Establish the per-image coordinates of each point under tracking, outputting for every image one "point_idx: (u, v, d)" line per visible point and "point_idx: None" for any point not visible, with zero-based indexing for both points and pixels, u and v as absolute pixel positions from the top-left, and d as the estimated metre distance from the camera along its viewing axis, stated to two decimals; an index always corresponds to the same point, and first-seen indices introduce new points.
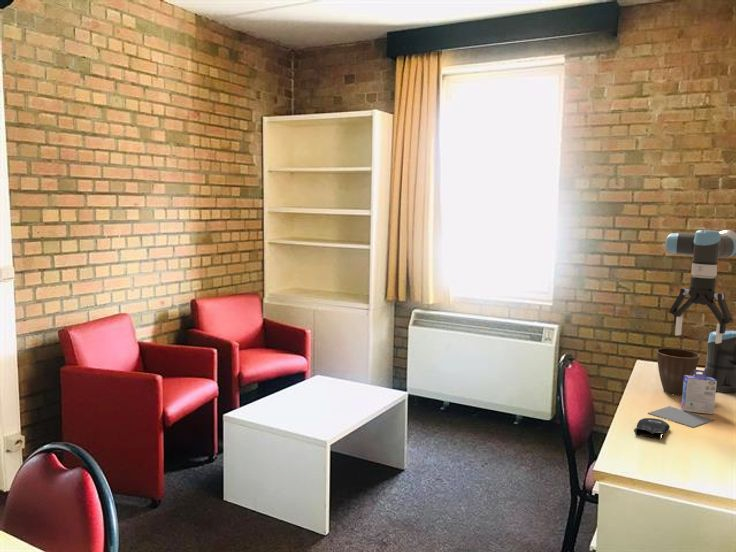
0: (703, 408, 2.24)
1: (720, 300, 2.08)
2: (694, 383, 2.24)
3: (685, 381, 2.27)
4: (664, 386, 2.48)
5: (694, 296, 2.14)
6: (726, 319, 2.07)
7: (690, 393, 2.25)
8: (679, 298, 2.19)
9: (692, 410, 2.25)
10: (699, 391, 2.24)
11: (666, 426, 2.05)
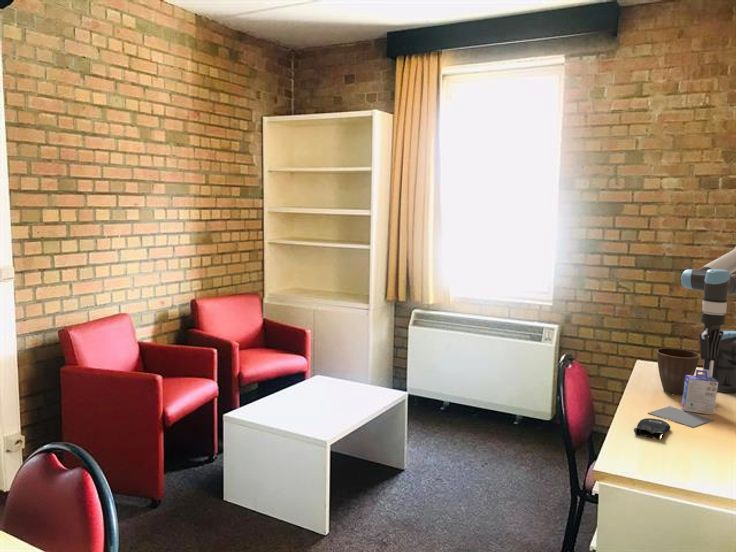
0: (703, 408, 2.24)
1: None
2: (695, 384, 2.24)
3: (686, 381, 2.26)
4: (664, 386, 2.48)
5: None
6: None
7: (691, 393, 2.24)
8: None
9: (692, 410, 2.25)
10: (700, 391, 2.24)
11: (667, 426, 2.05)
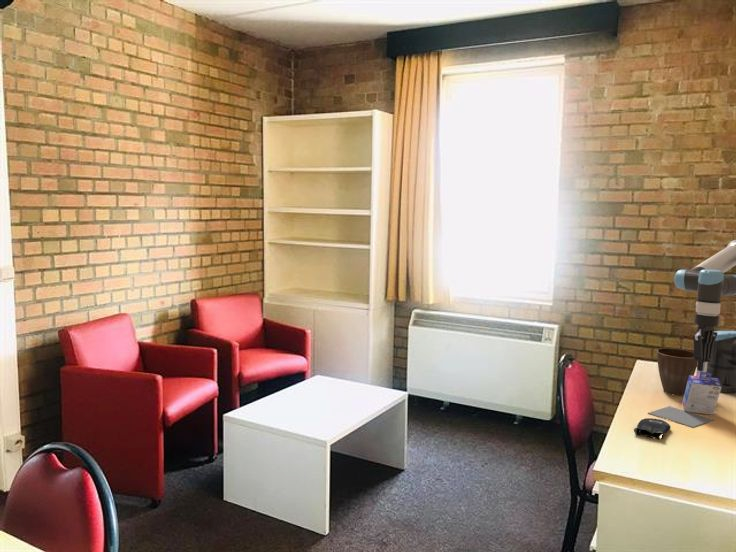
0: (703, 409, 2.24)
1: None
2: (698, 388, 2.21)
3: (689, 383, 2.23)
4: (664, 386, 2.48)
5: None
6: None
7: (692, 396, 2.22)
8: None
9: (693, 410, 2.25)
10: (702, 394, 2.21)
11: (667, 426, 2.05)
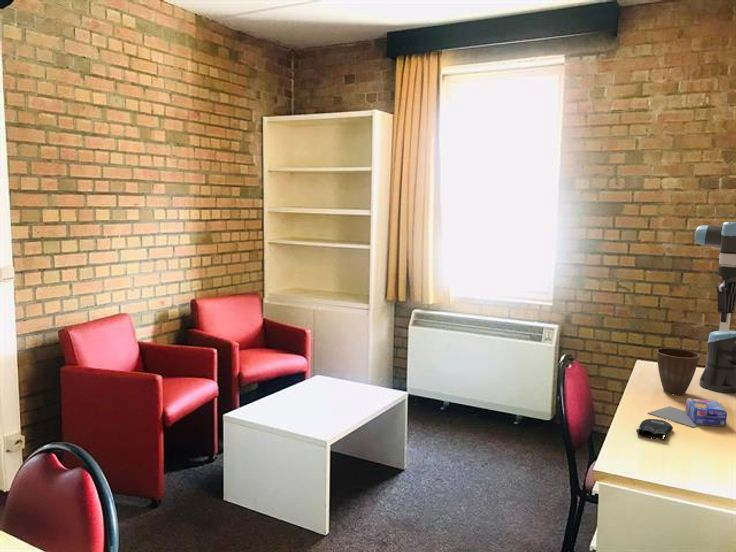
0: None
1: None
2: None
3: (693, 416, 2.15)
4: (664, 386, 2.48)
5: None
6: None
7: None
8: None
9: None
10: None
11: (669, 427, 2.04)
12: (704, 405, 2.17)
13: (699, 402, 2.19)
